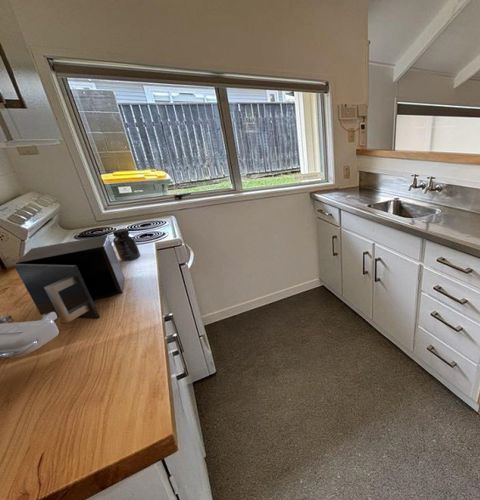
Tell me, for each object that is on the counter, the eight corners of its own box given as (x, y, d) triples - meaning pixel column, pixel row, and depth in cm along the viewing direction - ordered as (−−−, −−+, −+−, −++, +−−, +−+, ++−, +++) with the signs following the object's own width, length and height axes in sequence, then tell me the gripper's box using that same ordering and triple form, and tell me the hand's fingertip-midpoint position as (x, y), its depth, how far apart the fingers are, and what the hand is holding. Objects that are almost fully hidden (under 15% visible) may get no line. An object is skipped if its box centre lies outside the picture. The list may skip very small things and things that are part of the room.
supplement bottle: (123, 256, 117) (112, 229, 113) (142, 253, 120) (133, 226, 115) (118, 262, 111) (106, 234, 107) (138, 259, 114) (128, 231, 109)
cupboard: (122, 293, 88) (103, 246, 82) (43, 314, 79) (15, 263, 73) (124, 278, 98) (108, 235, 92) (55, 295, 89) (31, 248, 83)
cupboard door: (75, 333, 71) (46, 277, 65) (15, 329, 73) (-18, 275, 67) (100, 317, 77) (76, 265, 71) (44, 314, 79) (17, 263, 73)
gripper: (9, 342, 51) (73, 300, 63) (-114, 352, 49) (-24, 308, 62) (26, 369, 53) (84, 323, 66) (-91, 379, 52) (-9, 331, 65)
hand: (31, 316), depth 64 cm, fingers open, 8 cm apart
